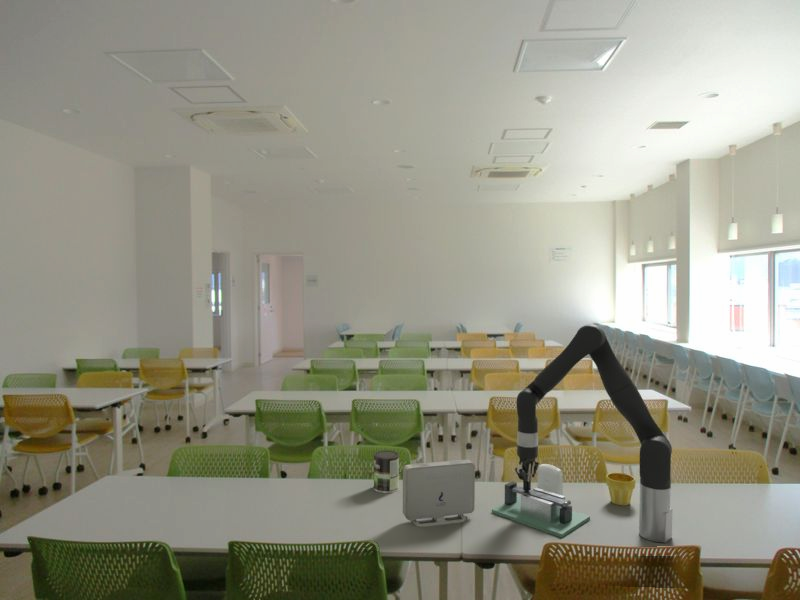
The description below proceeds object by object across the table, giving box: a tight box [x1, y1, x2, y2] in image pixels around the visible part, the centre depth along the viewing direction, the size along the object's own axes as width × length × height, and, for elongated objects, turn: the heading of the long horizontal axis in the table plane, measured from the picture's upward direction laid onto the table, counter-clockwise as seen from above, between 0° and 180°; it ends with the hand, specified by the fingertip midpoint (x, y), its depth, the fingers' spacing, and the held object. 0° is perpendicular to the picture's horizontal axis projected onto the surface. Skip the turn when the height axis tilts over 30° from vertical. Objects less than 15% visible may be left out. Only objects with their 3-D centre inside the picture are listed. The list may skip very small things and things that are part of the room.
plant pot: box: [605, 472, 636, 506], centre depth 213 cm, size 10×10×10 cm
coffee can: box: [373, 450, 400, 494], centre depth 226 cm, size 10×10×14 cm
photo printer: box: [536, 463, 564, 496], centre depth 218 cm, size 10×4×12 cm, turn 39°
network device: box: [402, 459, 476, 528], centre depth 197 cm, size 26×9×20 cm, turn 105°
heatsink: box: [504, 480, 573, 524], centre depth 201 cm, size 24×10×7 cm, turn 45°
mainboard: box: [491, 494, 591, 538], centre depth 200 cm, size 28×20×1 cm
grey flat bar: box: [512, 485, 572, 508], centre depth 200 cm, size 21×4×1 cm, turn 45°
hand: (526, 490), depth 204 cm, fingers closed
